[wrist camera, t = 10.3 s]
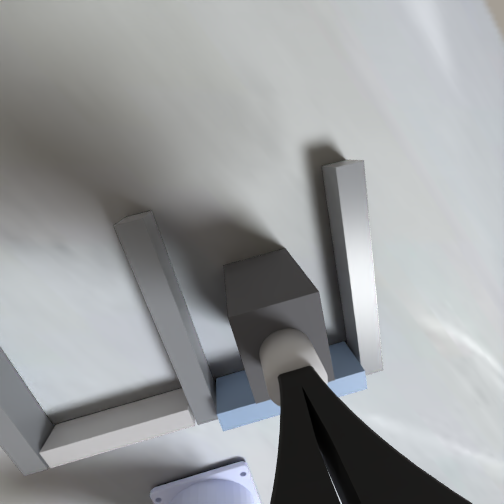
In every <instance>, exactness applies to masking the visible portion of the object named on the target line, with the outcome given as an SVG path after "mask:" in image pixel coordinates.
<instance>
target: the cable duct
mask: <svg viewBox="0 0 504 504" xmlns="http://www.w3.org/2000/svg"><path fill="white" fill-rule="evenodd" d="M322 172H323V179H324V186H325V192H326V199H327V206H328V213H329V220H330V227H331V234H332V241H333V248H334V255H335V262H336V269H337V276H338V283H339V290H340V296H341V303H342V310H343V317H344V324H345V331H346V338H347V345H348V346H347V345H346V343H345V342H340V343H337V344H333V345H330V346H329V349H330V355H331V360H332V366H333V371H334V377H335V380H334V381H331V382H328V383H327V385H328V387H329V388H330V389H331V390H332V391H333V392H334V393H335V394H336V395H337V397H341V396H344V395H348V394H351V393H354V392H358V391H361V390H364V389H367V383H366V375H369V374H372V373H376V372H379V371H382V370H383V361H382V351H381V340H380V329H379V318H378V308H377V297H376V286H375V275H374V265H373V254H372V243H371V232H370V222H369V211H368V200H367V189H366V179H365V168H364V160H344V161H340V162H336V163H332V164H328V165H324V166H322ZM113 226H114V229H115V231H116V233H117V236H118V238H119V240H120V243H121V245H122V247H123V250H124V252H125V255H126V257H127V259H128V262H129V264H130V266H131V269H132V271H133V273H134V276H135V278H136V280H137V283H138V285H139V288H140V290H141V292H142V295H143V297H144V299H145V302H146V304H147V306H148V309H149V311H150V313H151V316H152V318H153V321H154V323H155V325H156V328H157V330H158V332H159V335H160V337H161V339H162V342H163V344H164V346H165V349H166V351H167V354H168V356H169V358H170V361H171V363H172V365H173V368H174V370H175V372H176V375H177V377H178V379H179V382H180V384H181V386H182V388H181V389H177V390H174V391H170V392H167V393H163V394H160V395H156V396H153V397H149V398H146V399H142V400H139V401H136V402H132V403H129V404H125V405H122V406H118V407H115V408H111V409H108V410H104V411H101V412H97V413H94V414H90V415H87V416H84V417H80V418H77V419H73V420H70V421H66V422H63V423H59V424H56V425H55V427H54V426H53V424H52V423H51V422H50V420H49V419H48V417H47V416H46V414H45V413H44V411H43V410H42V408H41V407H40V405H39V404H38V402H37V401H36V399H35V398H34V396H33V395H32V393H31V392H30V390H29V389H28V388H27V386H26V385H25V383H24V382H23V380H22V379H21V377H20V376H19V374H18V373H17V371H16V370H15V368H14V367H13V365H12V364H11V362H10V361H9V359H8V358H7V356H6V355H5V354H4V352H3V351H2V349H1V348H0V446H1V447H2V449H3V450H4V451H5V452H6V454H7V455H8V456H9V457H10V459H11V460H12V461H13V462H14V464H15V465H16V466H17V468H18V469H19V470H20V471H21V473H22V474H23V475H24V476H26V475H30V474H33V473H37V472H40V471H43V470H47V469H48V467H50V468H54V467H57V466H60V465H64V464H67V463H70V462H74V461H77V460H81V459H84V458H87V457H91V456H94V455H98V454H101V453H104V452H108V451H111V450H115V449H118V448H121V447H125V446H128V445H132V444H135V443H138V442H142V441H145V440H148V439H152V438H155V437H159V436H162V435H165V434H169V433H172V432H176V431H179V430H182V429H186V428H189V427H193V426H195V419H196V422H197V424H198V425H199V424H203V423H206V422H210V421H213V420H216V419H219V422H220V424H221V427H222V430H223V431H226V430H230V429H233V428H236V427H240V426H243V425H247V424H250V423H253V422H257V421H260V420H263V419H267V418H270V417H273V416H277V415H280V406H278V405H276V404H275V403H274V402H273V401H272V400H268V401H264V402H261V403H258V404H256V403H255V400H254V396H253V393H252V390H251V387H250V384H249V381H248V378H247V375H246V372H245V370H243V371H240V372H236V373H233V374H229V375H226V376H222V377H219V378H216V384H215V382H214V379H213V376H212V374H211V371H210V368H209V365H208V363H207V360H206V357H205V355H204V352H203V349H202V346H201V344H200V341H199V338H198V335H197V333H196V330H195V327H194V325H193V322H192V319H191V316H190V314H189V311H188V308H187V306H186V303H185V300H184V297H183V295H182V292H181V289H180V287H179V284H178V281H177V278H176V276H175V273H174V270H173V267H172V265H171V262H170V259H169V257H168V254H167V251H166V248H165V246H164V243H163V240H162V238H161V235H160V232H159V229H158V227H157V224H156V221H155V219H154V216H153V213H152V210H151V211H147V212H144V213H140V214H136V215H132V216H128V217H125V218H123V219H122V220H121V221H119V222H118V223H116V224H115V225H113Z"/></svg>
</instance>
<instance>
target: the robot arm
mask: <svg viewBox="0 0 504 504" xmlns="http://www.w3.org/2000/svg"><path fill="white" fill-rule="evenodd" d="M277 378H278V382H279V389H280V434H279V446H278V457H277V465H276V472H275V479H274V486H273V491H272V497H271V502H270V504H340V502H339V499H338V496H337V494H336V491H335V489H334V486H335V488H336V490H337V493H338V495H339V497H340V500H341V502H342V504H472V503H471V502H469V501H468V500H466V499H465V498H463V497H461V496H460V495H458V494H457V493H455V492H454V491H452V490H451V489H449V488H448V487H446V486H445V485H444V484H442V483H441V482H439V481H438V480H436V479H435V478H434V477H432V476H431V475H429V474H428V473H426V472H425V471H424V470H422V469H421V468H419V467H418V466H416V465H415V464H414V463H412V462H411V461H410V460H409V459H407V458H406V457H405V456H403V455H402V454H401V453H399V452H398V451H397V450H396V449H394V448H393V447H392V446H391V445H389V444H388V443H387V442H386V441H385V440H383V439H382V438H381V437H380V436H379V435H377V434H376V433H375V432H374V431H373V430H372V429H371V428H369V427H368V426H367V425H366V424H365V423H364V422H363V421H362V420H361V419H360V418H359V417H357V416H356V415H355V414H354V413H353V412H352V411H351V410H350V409H349V408H348V407H347V406H346V405H345V404H344V403H343V402H342V401H341V400H340V399H339V398H338V397H337V395H336V394H335V393H334V392H333V391H332V390H331V389H330V388H329V387H328V385H327V384H326V383H325V382H324V381H323V380H322V378H321V377H320V376H319V375H318V373H317V372H316V371H315V369H314V368H313V367H312V366H307V367H303V368H300V369H296V370H293V371H289V372H286V373H283V374H280V375H279V376H278V377H277ZM325 465H326V466H325ZM327 470H328V471H327ZM328 472H329V473H328ZM329 474H330V476H329ZM330 477H331V479H332V481H333V484H334V486H333V484H332V481H331V479H330ZM150 498H151V500H152V501H153V503H154V504H262V503H261V501H260V498H259V495H258V492H257V490H256V487H255V484H254V481H253V479H252V476H251V473H250V470H249V468H248V465H247V463H246V462H244V461H240V462H237V463H233V464H230V465H227V466H223V467H220V468H217V469H214V470H210V471H207V472H204V473H200V474H197V475H194V476H190V477H187V478H184V479H180V480H177V481H174V482H171V483H167V484H164V485H161V486H157V487H154V488H153V489H152V490H151V492H150Z"/></svg>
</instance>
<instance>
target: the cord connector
mask: <svg viewBox="0 0 504 504" xmlns="http://www.w3.org/2000/svg"><path fill="white" fill-rule="evenodd" d="M223 266H224V277H225V288H226V299H227V310H228V319H229V322H230V325H231V328H232V331H233V334H234V337H235V341H236V344H237V347H238V350H239V353H240V356H241V359H242V362H243V365H244V369H245V372H246V375H247V378H248V381H249V384H250V387H251V390H252V393H253V396H254V400H255V403H256V404H258V403H261V402H264V401H268V400H272V401H273V402H274V403H275V404H276V405H278V406H280V389H279V382H278V378H277V377H278V376H279V375H280V374H283V373H286V372H289V371H293V370H296V369H300V368H303V367H307V366H312V367H313V368H314V369H315V371H316V372H317V373H318V375H319V376H320V377H321V378H322V380H323V381H324V382H325V383H326V384H327V383H328V382H331V381H334V380H335V377H334V371H333V366H332V360H331V355H330V349H329V344H328V338H327V333H326V327H325V322H324V316H323V311H322V305H321V300H320V294H319V291H318V290H317V288H316V287H315V286H314V285H313V283H312V282H311V281H310V279H309V278H308V277H307V276H306V274H305V273H304V272H303V270H302V269H301V268H300V267H299V265H298V264H297V263H296V261H295V260H294V259H293V258H292V256H291V255H290V254H289V252H288V251H287V250H286V248H285V249H281V250H277V251H274V252H270V253H267V254H263V255H259V256H256V257H252V258H249V259H245V260H241V261H238V262H234V263H231V264H227V265H223Z"/></svg>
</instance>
